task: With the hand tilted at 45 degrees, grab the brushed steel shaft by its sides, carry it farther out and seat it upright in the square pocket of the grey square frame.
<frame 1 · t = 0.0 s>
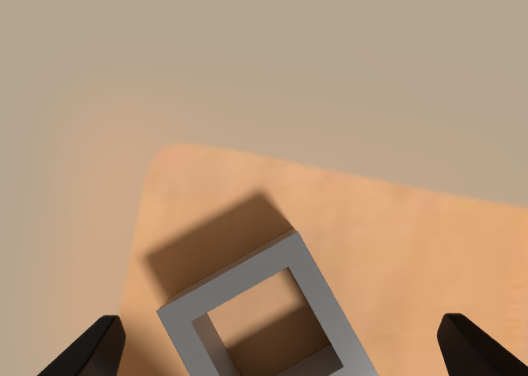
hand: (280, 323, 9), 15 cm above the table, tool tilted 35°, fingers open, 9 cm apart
grey square frame: (267, 323, 24), on the table
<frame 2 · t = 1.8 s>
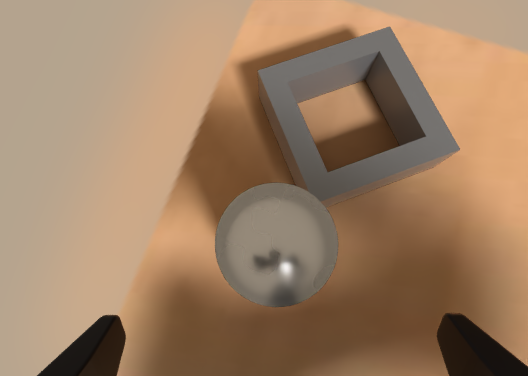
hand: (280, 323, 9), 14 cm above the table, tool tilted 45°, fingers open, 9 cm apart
grey square frame: (343, 130, 25), on the table
steel shaft: (273, 256, 23), on the table
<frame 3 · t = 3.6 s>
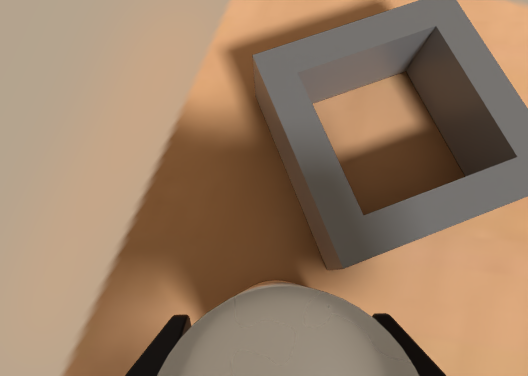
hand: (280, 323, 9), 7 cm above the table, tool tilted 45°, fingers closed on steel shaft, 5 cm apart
grey square frame: (377, 144, 17), on the table
steel shaft: (276, 336, 15), on the table, touching gripper
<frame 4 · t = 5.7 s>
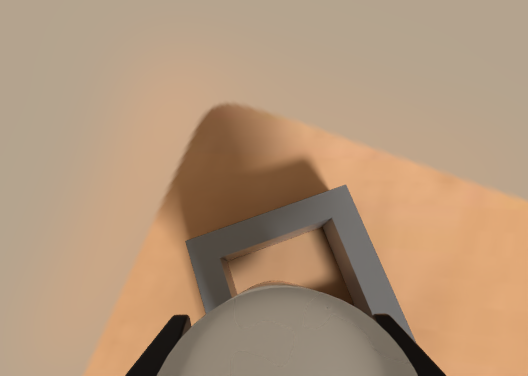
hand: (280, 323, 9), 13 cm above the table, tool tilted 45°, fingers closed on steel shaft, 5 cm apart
grey square frame: (293, 294, 21), on the table
steel shaft: (275, 336, 15), point 6 cm above the table, touching gripper
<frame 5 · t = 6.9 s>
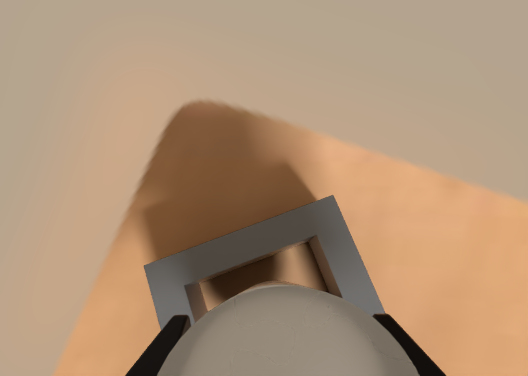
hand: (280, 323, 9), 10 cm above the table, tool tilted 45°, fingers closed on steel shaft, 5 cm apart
grey square frame: (275, 320, 19), on the table
steel shaft: (276, 336, 15), point 4 cm above the table, touching gripper
when the fingers open (8 cm above the table, at t = 7.7 s): steel shaft drops 2 cm, resting in grey square frame.
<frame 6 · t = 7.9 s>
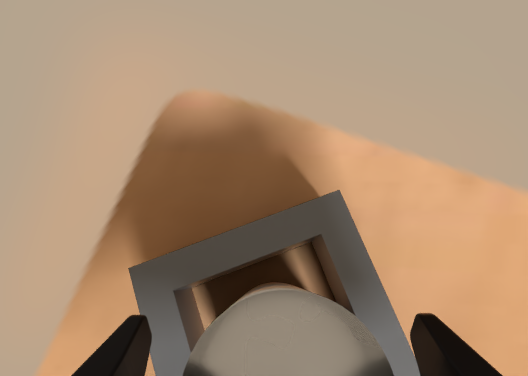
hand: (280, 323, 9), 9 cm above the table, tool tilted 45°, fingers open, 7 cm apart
grey square frame: (275, 328, 17), on the table
steel shaft: (275, 331, 17), resting in grey square frame
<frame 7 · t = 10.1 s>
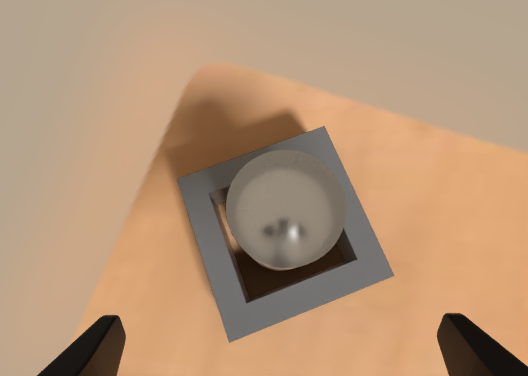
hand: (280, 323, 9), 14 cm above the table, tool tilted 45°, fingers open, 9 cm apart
grey square frame: (279, 232, 23), on the table
steel shaft: (279, 234, 23), resting in grey square frame
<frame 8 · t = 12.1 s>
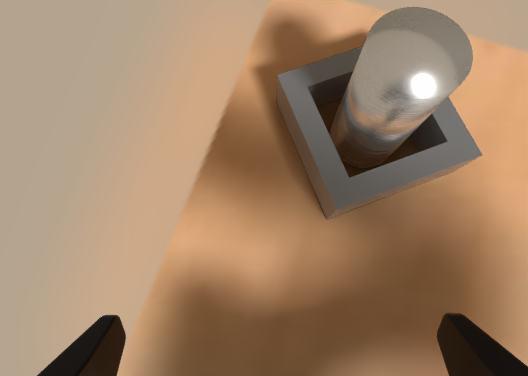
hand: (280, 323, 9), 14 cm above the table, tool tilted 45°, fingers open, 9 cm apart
grey square frame: (361, 135, 25), on the table
steel shaft: (361, 137, 25), resting in grey square frame
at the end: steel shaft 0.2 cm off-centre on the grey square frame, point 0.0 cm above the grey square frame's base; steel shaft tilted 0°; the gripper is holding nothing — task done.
